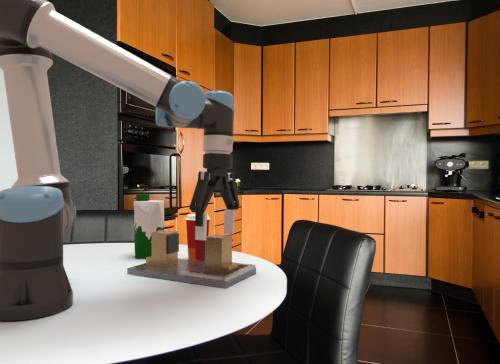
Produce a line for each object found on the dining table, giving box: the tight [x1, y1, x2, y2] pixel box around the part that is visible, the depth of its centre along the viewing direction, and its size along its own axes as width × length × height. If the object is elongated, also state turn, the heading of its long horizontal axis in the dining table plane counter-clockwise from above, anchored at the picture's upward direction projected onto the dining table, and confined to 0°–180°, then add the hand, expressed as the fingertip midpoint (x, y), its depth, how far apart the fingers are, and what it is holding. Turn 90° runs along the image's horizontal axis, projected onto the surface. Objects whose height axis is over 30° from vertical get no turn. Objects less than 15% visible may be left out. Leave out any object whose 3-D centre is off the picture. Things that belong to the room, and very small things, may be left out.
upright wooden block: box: [204, 233, 240, 275], centre depth 100 cm, size 5×8×9 cm, turn 63°
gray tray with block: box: [126, 229, 257, 289], centre depth 104 cm, size 16×30×10 cm, turn 63°
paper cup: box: [184, 213, 211, 262], centre depth 122 cm, size 8×8×14 cm
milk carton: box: [133, 193, 165, 260], centre depth 127 cm, size 9×9×20 cm
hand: (215, 236), depth 101 cm, fingers open, 13 cm apart
